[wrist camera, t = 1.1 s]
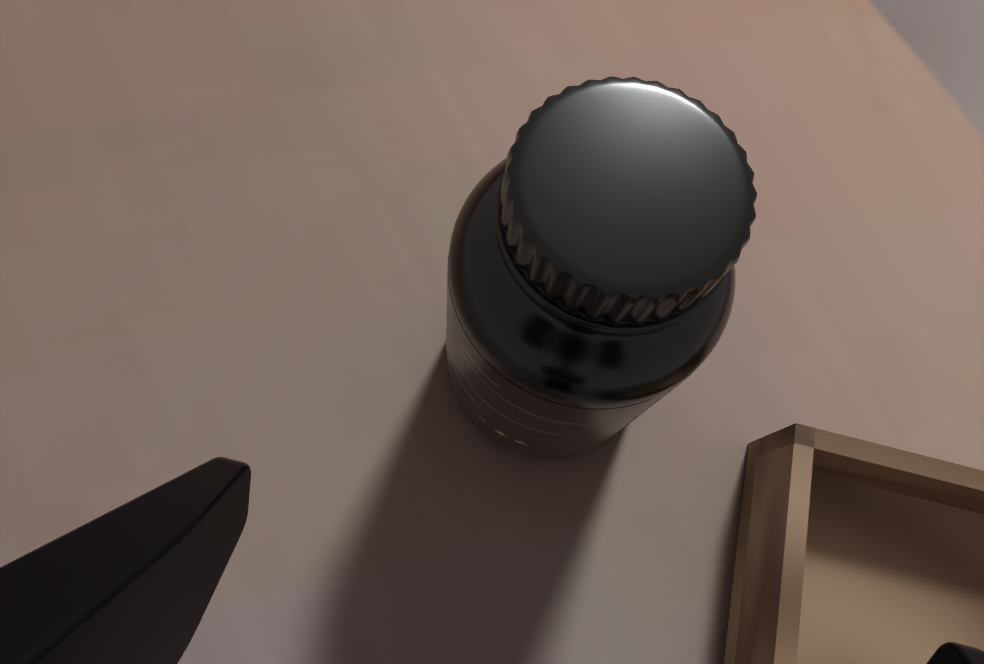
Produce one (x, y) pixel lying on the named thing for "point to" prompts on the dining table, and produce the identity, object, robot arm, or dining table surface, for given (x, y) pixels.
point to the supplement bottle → (594, 264)
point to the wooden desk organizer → (854, 553)
